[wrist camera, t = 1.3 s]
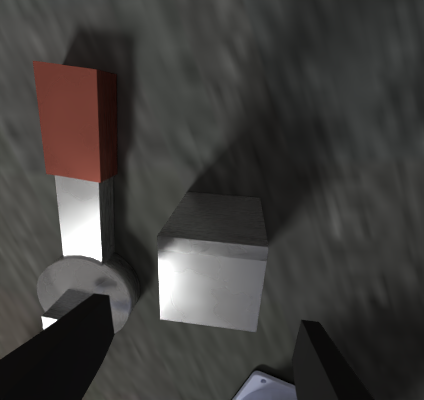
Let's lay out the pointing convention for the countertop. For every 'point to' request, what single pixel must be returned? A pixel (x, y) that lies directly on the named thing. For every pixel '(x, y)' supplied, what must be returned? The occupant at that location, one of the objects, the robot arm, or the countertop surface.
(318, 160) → the countertop surface
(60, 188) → the ratchet
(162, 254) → the grey block
